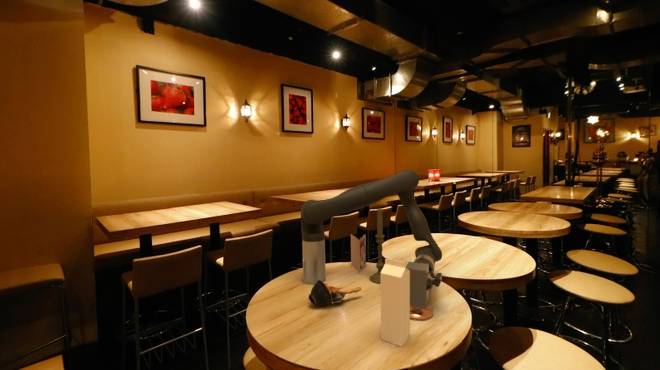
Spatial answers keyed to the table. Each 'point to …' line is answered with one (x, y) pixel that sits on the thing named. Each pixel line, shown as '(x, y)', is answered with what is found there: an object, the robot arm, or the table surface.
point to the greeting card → (358, 253)
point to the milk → (395, 302)
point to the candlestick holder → (379, 248)
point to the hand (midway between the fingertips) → (416, 285)
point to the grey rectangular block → (418, 284)
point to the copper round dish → (420, 313)
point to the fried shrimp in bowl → (328, 294)
